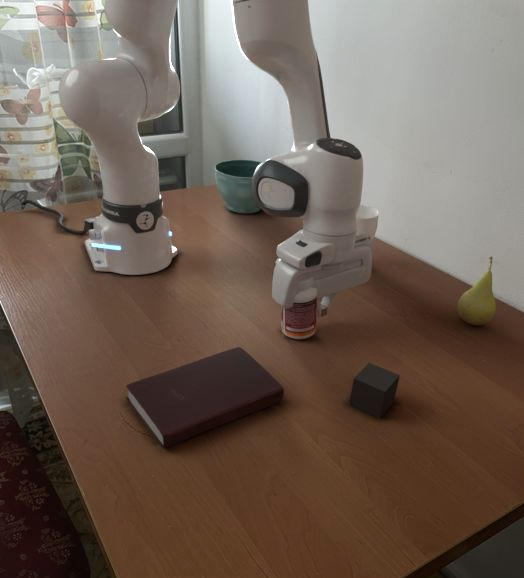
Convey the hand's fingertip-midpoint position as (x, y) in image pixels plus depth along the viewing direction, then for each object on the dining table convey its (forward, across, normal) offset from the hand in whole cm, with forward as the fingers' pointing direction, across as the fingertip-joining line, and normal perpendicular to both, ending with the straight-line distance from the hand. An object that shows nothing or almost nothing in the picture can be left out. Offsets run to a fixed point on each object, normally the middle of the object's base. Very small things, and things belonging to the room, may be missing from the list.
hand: (320, 315), depth 99 cm
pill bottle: (+2, +5, 0) cm, 5 cm away
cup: (+2, -24, -17) cm, 29 cm away
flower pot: (+1, -22, -58) cm, 62 cm away
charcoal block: (+2, +8, +22) cm, 23 cm away
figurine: (+2, -9, -21) cm, 23 cm away
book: (+2, +29, +8) cm, 30 cm away
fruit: (+2, -26, +14) cm, 30 cm away
